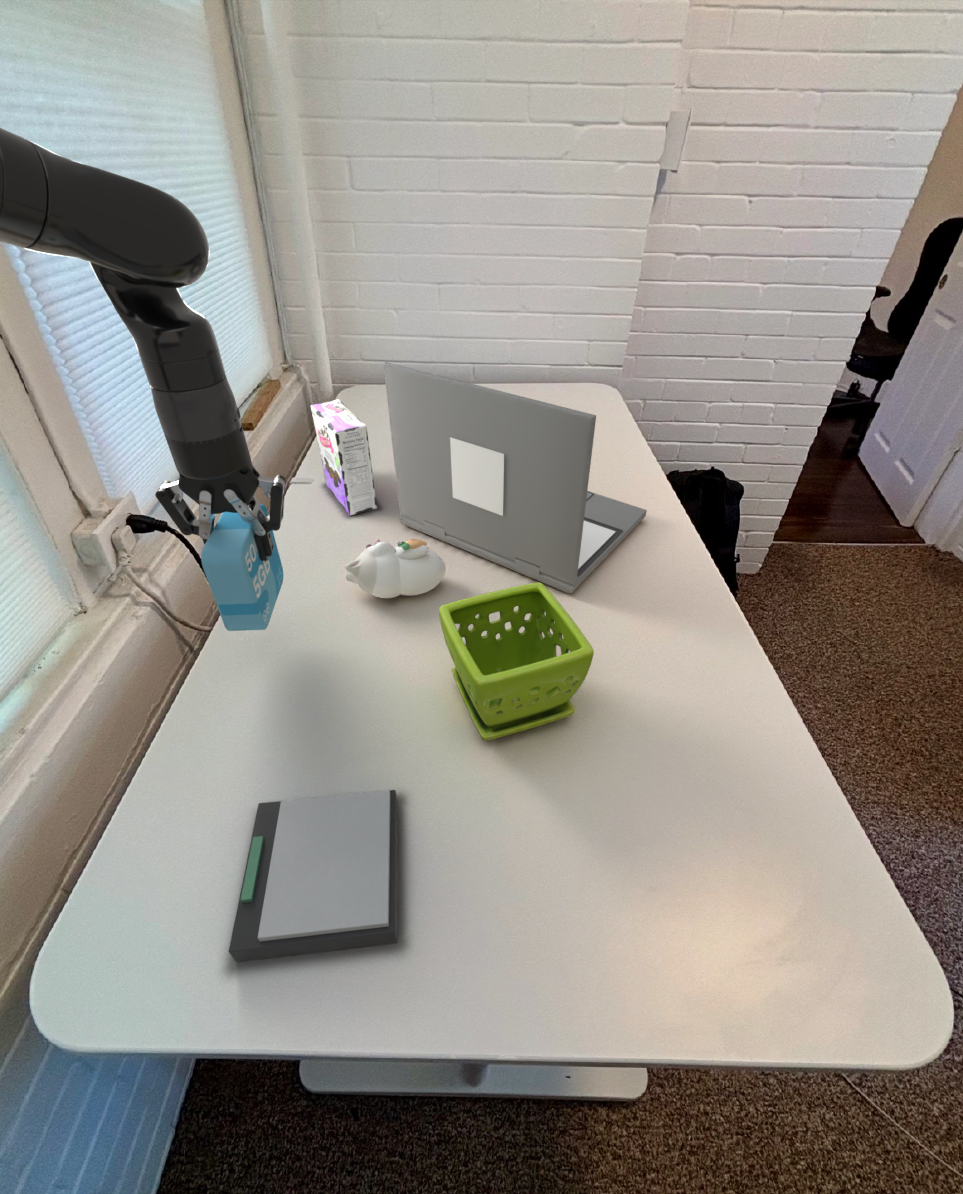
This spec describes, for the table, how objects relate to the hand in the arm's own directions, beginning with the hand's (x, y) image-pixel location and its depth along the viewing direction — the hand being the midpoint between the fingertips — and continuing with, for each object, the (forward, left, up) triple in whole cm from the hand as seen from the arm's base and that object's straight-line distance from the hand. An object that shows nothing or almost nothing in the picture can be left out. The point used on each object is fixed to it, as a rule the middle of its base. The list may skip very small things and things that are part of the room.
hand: (243, 557), depth 72 cm
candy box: (+8, +41, -16) cm, 45 cm away
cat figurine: (+17, +11, -16) cm, 26 cm away
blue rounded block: (0, 0, -8) cm, 8 cm away
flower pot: (+31, -13, -16) cm, 37 cm away
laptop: (+39, +27, -16) cm, 50 cm away
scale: (+10, -32, -15) cm, 37 cm away
